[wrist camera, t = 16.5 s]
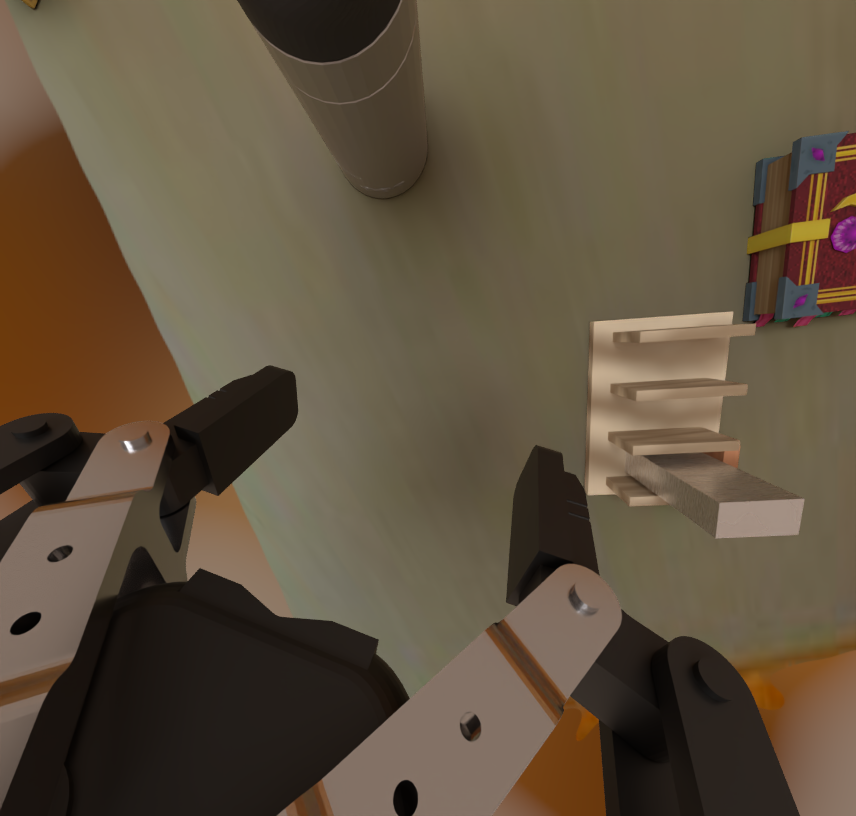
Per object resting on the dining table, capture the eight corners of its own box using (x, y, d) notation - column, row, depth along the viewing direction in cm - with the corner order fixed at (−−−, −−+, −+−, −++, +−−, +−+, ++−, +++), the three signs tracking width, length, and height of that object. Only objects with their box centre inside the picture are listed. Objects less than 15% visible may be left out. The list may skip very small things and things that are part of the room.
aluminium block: (625, 446, 37) (719, 502, 25) (680, 443, 37) (804, 498, 24) (624, 470, 38) (715, 538, 25) (678, 467, 38) (798, 534, 25)
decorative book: (877, 146, 31) (957, 111, 26) (851, 320, 35) (917, 317, 30) (751, 164, 32) (807, 133, 27) (737, 332, 35) (784, 331, 31)
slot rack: (590, 321, 36) (618, 319, 30) (725, 312, 35) (782, 307, 29) (584, 491, 40) (608, 518, 34) (705, 486, 39) (751, 512, 33)
